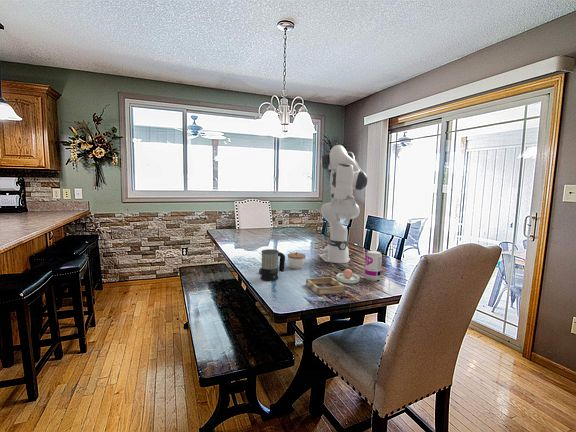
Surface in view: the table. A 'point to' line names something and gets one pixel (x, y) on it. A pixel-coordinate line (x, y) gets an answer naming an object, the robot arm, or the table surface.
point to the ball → (347, 273)
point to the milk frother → (271, 264)
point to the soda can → (373, 265)
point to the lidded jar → (296, 260)
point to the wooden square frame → (325, 290)
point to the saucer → (351, 280)
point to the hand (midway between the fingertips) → (342, 222)
